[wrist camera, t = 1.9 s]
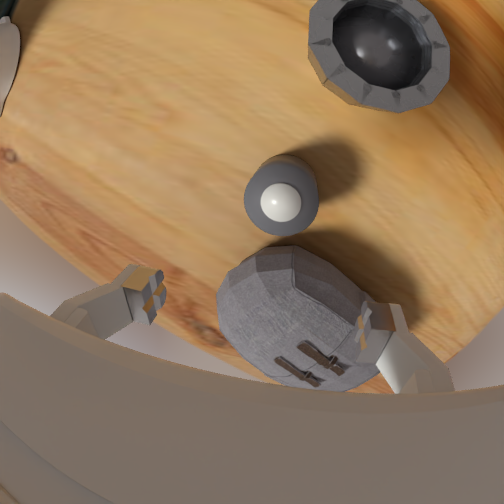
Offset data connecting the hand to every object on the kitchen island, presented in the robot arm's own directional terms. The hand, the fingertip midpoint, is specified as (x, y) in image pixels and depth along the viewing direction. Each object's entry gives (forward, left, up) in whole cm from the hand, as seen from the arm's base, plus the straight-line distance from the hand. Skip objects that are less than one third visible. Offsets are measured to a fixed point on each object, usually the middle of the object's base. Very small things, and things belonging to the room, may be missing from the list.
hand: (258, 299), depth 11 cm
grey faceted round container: (+6, +13, -16) cm, 21 cm away
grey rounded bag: (+4, -14, -16) cm, 22 cm away
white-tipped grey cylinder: (0, 0, -16) cm, 16 cm away
